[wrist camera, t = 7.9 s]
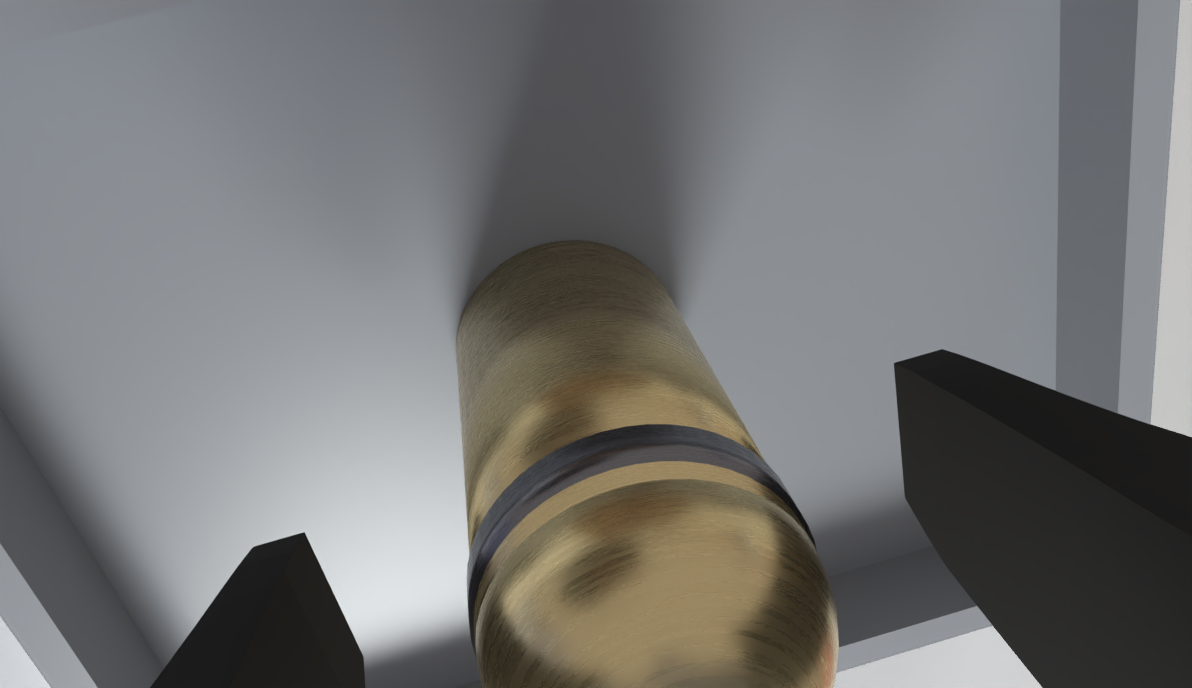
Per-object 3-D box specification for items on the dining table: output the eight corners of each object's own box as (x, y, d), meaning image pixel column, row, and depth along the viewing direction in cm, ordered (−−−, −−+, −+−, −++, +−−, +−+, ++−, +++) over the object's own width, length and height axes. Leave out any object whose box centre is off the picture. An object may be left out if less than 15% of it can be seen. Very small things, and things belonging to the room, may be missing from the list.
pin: (488, 468, 16) (541, 964, 9) (422, 273, 14) (421, 691, 7) (697, 409, 16) (921, 848, 9) (658, 210, 14) (896, 552, 7)
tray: (208, 753, 19) (181, 870, 16) (-235, 45, 12) (-379, 83, 10) (1057, 501, 20) (1139, 581, 17) (1069, -285, 13) (1202, -319, 11)
